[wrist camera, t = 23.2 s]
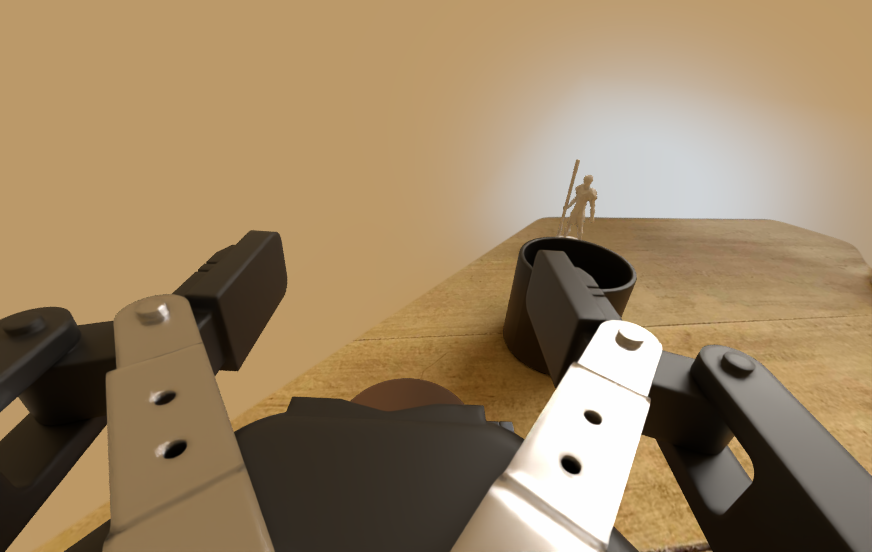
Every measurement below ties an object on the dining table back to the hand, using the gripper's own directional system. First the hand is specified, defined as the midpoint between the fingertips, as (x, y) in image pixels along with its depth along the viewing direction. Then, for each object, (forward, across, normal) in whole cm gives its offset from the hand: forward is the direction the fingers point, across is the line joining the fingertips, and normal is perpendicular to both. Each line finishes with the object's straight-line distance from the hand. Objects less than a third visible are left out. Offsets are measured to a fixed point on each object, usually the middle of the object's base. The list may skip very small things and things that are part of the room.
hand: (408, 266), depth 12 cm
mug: (+18, -13, +17) cm, 28 cm away
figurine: (+39, -22, +17) cm, 48 cm away
